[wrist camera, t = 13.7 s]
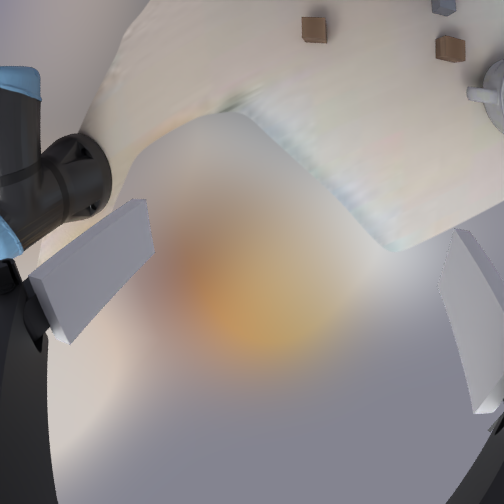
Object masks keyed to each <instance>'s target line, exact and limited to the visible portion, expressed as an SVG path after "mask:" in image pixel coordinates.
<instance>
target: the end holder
mask: <svg viewBox="0 0 504 504" xmlns="http://www.w3.org/2000/svg"><path fill="white" fill-rule="evenodd" d="M431 1H432V13H436V14H440V15H444V16H449V15H450V14H452V13H454V12H455V11H456V3H455V0H431Z"/></svg>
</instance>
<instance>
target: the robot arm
mask: <svg viewBox="0 0 504 504" xmlns="http://www.w3.org/2000/svg"><path fill="white" fill-rule="evenodd" d="M41 101H42V99H41V97H40V74H39V72H38V71H37V70H36V69H34V68H32V67H24V66H0V504H58V501H57V496H56V491H55V485H54V479H53V471H52V463H51V454H50V445H49V444H50V443H49V431H48V413H47V358H48V336H47V335H46V333H45V332H46V330H47V329H48V328H49V327H50V328H51V330H52V332H53V334H54V336H55V338H56V339H57V340H59V341H62V342H64V343H66V344H69V345H70V344H71V343H72V342H73V341H74V340H75V339H76V337H77V336H78V335H79V334H80V333H81V332H82V330H83V329H84V328H85V327H86V326H87V325H88V324H89V323H90V321H91V320H92V319H93V318H94V317H95V316H96V315H97V314H98V313H99V311H100V310H101V309H102V308H103V307H104V306H105V305H106V304H107V303H108V302H109V301H110V299H111V298H112V297H113V296H114V295H115V294H116V293H117V292H118V291H119V290H120V289H121V288H122V287H123V285H124V284H125V283H126V282H127V281H128V280H129V279H130V278H131V277H132V276H133V275H134V274H135V273H136V272H137V271H138V270H139V269H140V268H141V267H142V266H143V265H144V263H145V262H146V261H147V260H148V259H149V258H150V257H151V256H152V255H153V254H154V253H155V252H154V246H153V240H152V234H151V228H150V222H149V216H148V209H147V203H146V199H131V200H130V201H129V202H127V203H125V204H124V205H122V206H121V207H120V208H118V209H116V210H115V211H114V212H112V213H111V214H109V215H108V216H106V217H105V218H103V219H102V220H101V221H99V222H98V223H96V224H95V225H93V226H92V227H91V228H89V229H88V230H87V231H85V232H84V233H82V234H81V235H80V236H78V237H77V238H76V239H74V240H73V241H72V242H70V243H69V244H68V245H66V246H65V247H64V248H62V249H61V250H60V251H58V252H57V253H56V254H55V255H53V256H52V257H51V258H49V259H48V260H47V261H46V262H44V263H43V264H42V265H41V266H39V267H38V268H37V269H36V270H34V271H33V272H32V273H31V274H30V275H28V278H27V279H26V280H24V281H23V282H22V279H21V277H20V274H19V271H18V269H17V266H16V264H15V261H14V260H13V258H15V257H17V256H18V255H21V254H22V253H23V251H25V250H26V249H27V248H29V247H30V246H32V245H33V244H34V243H36V242H37V241H38V240H40V239H41V238H43V237H44V236H46V235H47V234H48V233H50V232H51V231H53V230H54V229H56V228H57V227H58V226H60V225H61V224H63V223H67V222H73V221H78V220H84V219H88V218H90V217H92V216H94V215H95V214H97V213H98V212H100V211H101V210H102V209H103V208H104V207H105V206H106V204H107V202H108V200H109V197H110V193H111V185H112V182H111V173H110V168H109V165H108V162H107V159H106V157H105V155H104V153H103V152H102V150H101V149H100V147H99V146H98V145H97V144H96V143H95V142H94V141H93V140H92V139H91V138H89V137H87V136H85V135H82V134H70V135H67V136H64V137H62V138H60V139H58V140H56V141H55V142H54V143H53V144H52V145H50V146H49V147H48V148H47V149H46V150H45V151H44V152H43V153H42V154H41V145H40V104H41ZM437 286H438V289H439V292H440V295H441V297H442V300H443V303H444V306H445V309H446V312H447V314H448V318H449V321H450V324H451V327H452V330H453V333H454V337H455V340H456V343H457V347H458V350H459V354H460V357H461V361H462V365H463V368H464V373H465V376H466V381H467V384H468V389H469V394H470V398H471V403H472V407H473V413H474V414H482V413H493V412H494V411H495V410H496V408H497V407H498V406H499V405H500V404H501V402H502V401H504V281H503V279H502V277H501V276H500V274H499V273H498V271H497V270H496V268H495V266H494V265H493V263H492V262H491V260H490V259H489V257H488V256H487V255H486V253H485V252H484V250H483V249H482V248H481V246H480V244H479V243H478V242H477V240H476V239H475V238H474V236H473V235H472V234H471V232H470V231H467V230H461V229H454V230H453V234H452V239H451V242H450V246H449V249H448V253H447V256H446V260H445V263H444V267H443V270H442V273H441V276H440V279H439V282H438V285H437ZM493 428H494V429H493ZM492 430H493V431H492ZM488 431H489V432H491V431H492V433H491V435H490V437H489V439H488V440H487V442H486V444H485V446H484V447H483V449H482V451H481V453H480V454H479V456H478V457H477V459H476V461H475V462H474V464H473V466H472V467H471V469H470V470H469V472H468V473H467V475H466V476H465V477H464V479H463V480H462V482H461V483H460V485H459V486H458V488H457V489H456V491H455V492H454V493H453V495H452V496H451V497H450V499H449V500H448V501H447V503H446V504H504V412H503V414H502V415H501V416H500V417H499V418H498V420H497V421H496V422H495V423H494V424H493V425H492V426H491V427H490V428H489V430H488Z"/></svg>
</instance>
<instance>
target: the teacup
mask: <svg viewBox="0 0 504 504" xmlns="http://www.w3.org/2000/svg"><path fill="white" fill-rule="evenodd" d="M467 98H468V99H469V100H471V101H476V102H483V103H484V106H485V109H486V112H487V114H488V116H489V118H490V120H491V121H492V123H493V124H494V125H495V127H496V128H497V129H498V130H499V131H500V132H502V133H503V134H504V59H502V60H500V61H497V62H496V63H494V64H493V65H492V66H491V67H490V68H489V70H488V71H487V73H486V75H485V78H484V82H483V88H475V87H468V88H467Z"/></svg>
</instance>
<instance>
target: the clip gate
mask: <svg viewBox="0 0 504 504" xmlns="http://www.w3.org/2000/svg"><path fill="white" fill-rule="evenodd" d="M302 38H303V39H304V41H305V42H310V43H327V32H326V20H325V18H319V17H302ZM436 58H437V59H441V60H445V61H449V62H453V63H455V62H461V61H465V41H464V40H461V39H457V38H454V37H450V36H446V35H445V36H443V37H441V38H438V39H436Z"/></svg>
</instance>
